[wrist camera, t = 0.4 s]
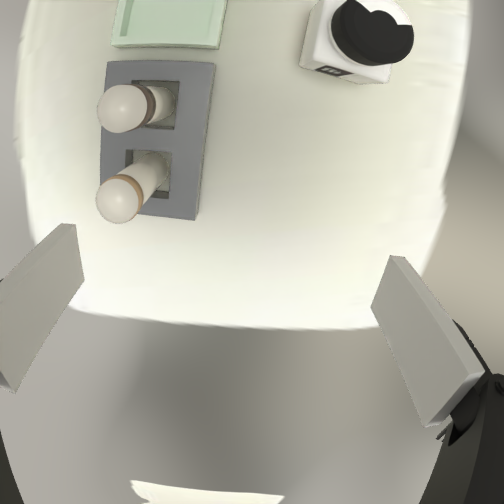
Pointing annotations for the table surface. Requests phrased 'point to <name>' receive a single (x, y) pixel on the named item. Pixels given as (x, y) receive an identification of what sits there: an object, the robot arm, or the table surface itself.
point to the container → (356, 39)
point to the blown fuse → (133, 106)
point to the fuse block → (165, 133)
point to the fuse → (131, 188)
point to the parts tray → (168, 23)
